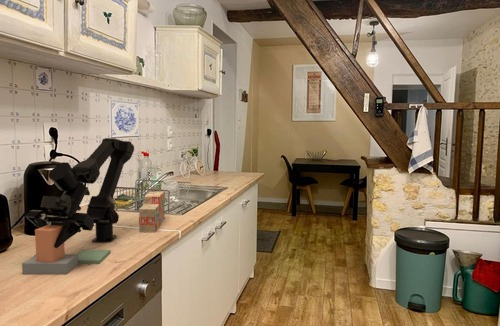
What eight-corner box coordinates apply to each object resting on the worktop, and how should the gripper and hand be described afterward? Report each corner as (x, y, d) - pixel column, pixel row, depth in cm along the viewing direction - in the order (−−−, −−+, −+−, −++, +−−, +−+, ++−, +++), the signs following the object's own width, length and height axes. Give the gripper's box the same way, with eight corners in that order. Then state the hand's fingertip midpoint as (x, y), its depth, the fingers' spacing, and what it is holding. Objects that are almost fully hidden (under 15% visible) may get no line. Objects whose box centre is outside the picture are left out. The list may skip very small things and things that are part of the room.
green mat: (82, 252, 115) (82, 249, 115) (110, 252, 115) (110, 249, 115) (68, 263, 106) (68, 260, 106) (99, 263, 106) (99, 260, 106)
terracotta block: (49, 254, 104) (48, 224, 104) (64, 256, 104) (63, 225, 103) (36, 261, 100) (34, 229, 99) (52, 262, 99) (51, 231, 98)
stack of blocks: (155, 232, 138) (155, 201, 136) (138, 232, 137) (138, 201, 136) (164, 218, 159) (164, 190, 157) (150, 218, 158) (150, 190, 157)
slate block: (36, 264, 105) (36, 254, 105) (78, 264, 106) (77, 254, 105) (22, 273, 98) (21, 263, 98) (66, 274, 99) (66, 263, 98)
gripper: (28, 182, 105) (-2, 230, 95) (87, 185, 102) (62, 235, 92) (49, 203, 113) (23, 249, 104) (103, 206, 110) (82, 254, 101)
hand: (46, 246), depth 100 cm, fingers closed on terracotta block, 5 cm apart
